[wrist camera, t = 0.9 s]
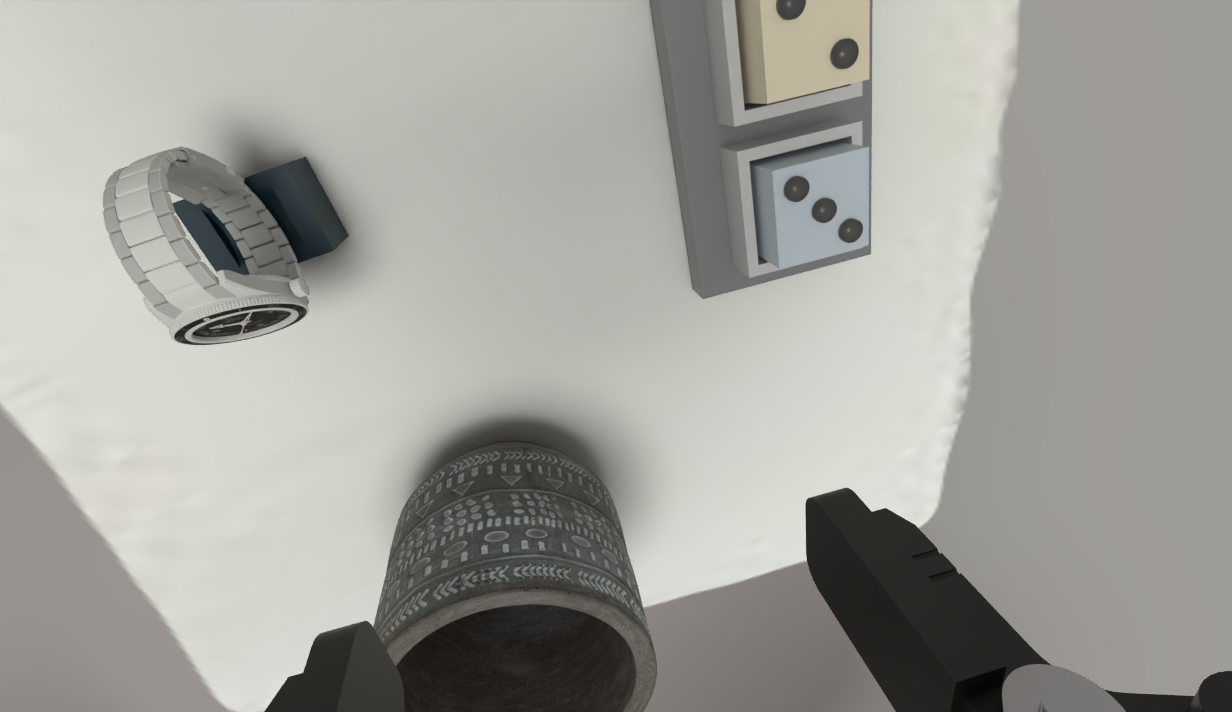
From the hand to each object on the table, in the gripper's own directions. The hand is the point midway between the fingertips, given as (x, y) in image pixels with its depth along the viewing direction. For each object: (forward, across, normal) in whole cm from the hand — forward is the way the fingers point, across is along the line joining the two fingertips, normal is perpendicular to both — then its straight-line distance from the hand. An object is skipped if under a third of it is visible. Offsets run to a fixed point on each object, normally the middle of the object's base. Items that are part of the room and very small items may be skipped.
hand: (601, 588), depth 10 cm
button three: (+22, -15, 0) cm, 27 cm away
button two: (+22, -14, -8) cm, 28 cm away
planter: (+25, +6, +18) cm, 32 cm away
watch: (+26, +12, -4) cm, 29 cm away
